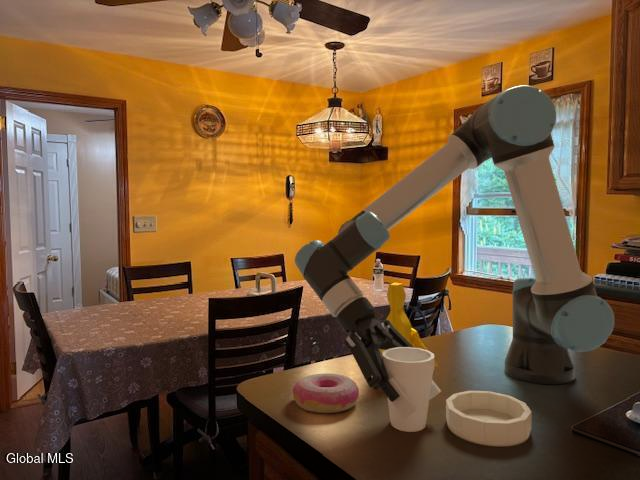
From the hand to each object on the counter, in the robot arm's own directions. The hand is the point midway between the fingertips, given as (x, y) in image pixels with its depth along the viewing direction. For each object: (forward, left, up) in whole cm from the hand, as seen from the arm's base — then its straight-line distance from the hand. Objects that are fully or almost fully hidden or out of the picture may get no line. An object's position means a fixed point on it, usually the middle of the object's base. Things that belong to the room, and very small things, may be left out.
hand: (423, 404), depth 85 cm
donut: (+19, -9, -5) cm, 22 cm away
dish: (-11, -2, -4) cm, 12 cm away
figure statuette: (+3, -30, -5) cm, 30 cm away
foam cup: (+3, -2, -5) cm, 6 cm away
